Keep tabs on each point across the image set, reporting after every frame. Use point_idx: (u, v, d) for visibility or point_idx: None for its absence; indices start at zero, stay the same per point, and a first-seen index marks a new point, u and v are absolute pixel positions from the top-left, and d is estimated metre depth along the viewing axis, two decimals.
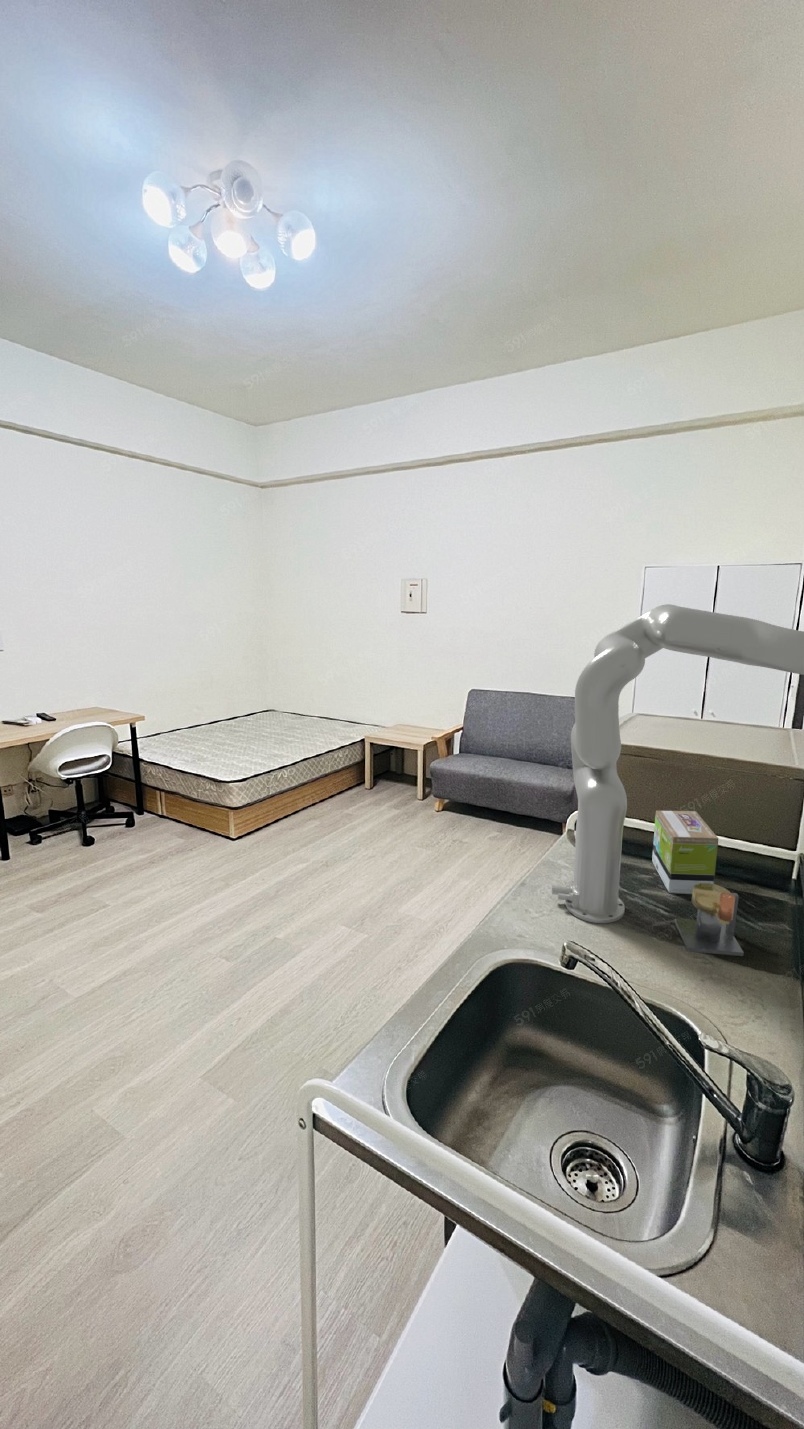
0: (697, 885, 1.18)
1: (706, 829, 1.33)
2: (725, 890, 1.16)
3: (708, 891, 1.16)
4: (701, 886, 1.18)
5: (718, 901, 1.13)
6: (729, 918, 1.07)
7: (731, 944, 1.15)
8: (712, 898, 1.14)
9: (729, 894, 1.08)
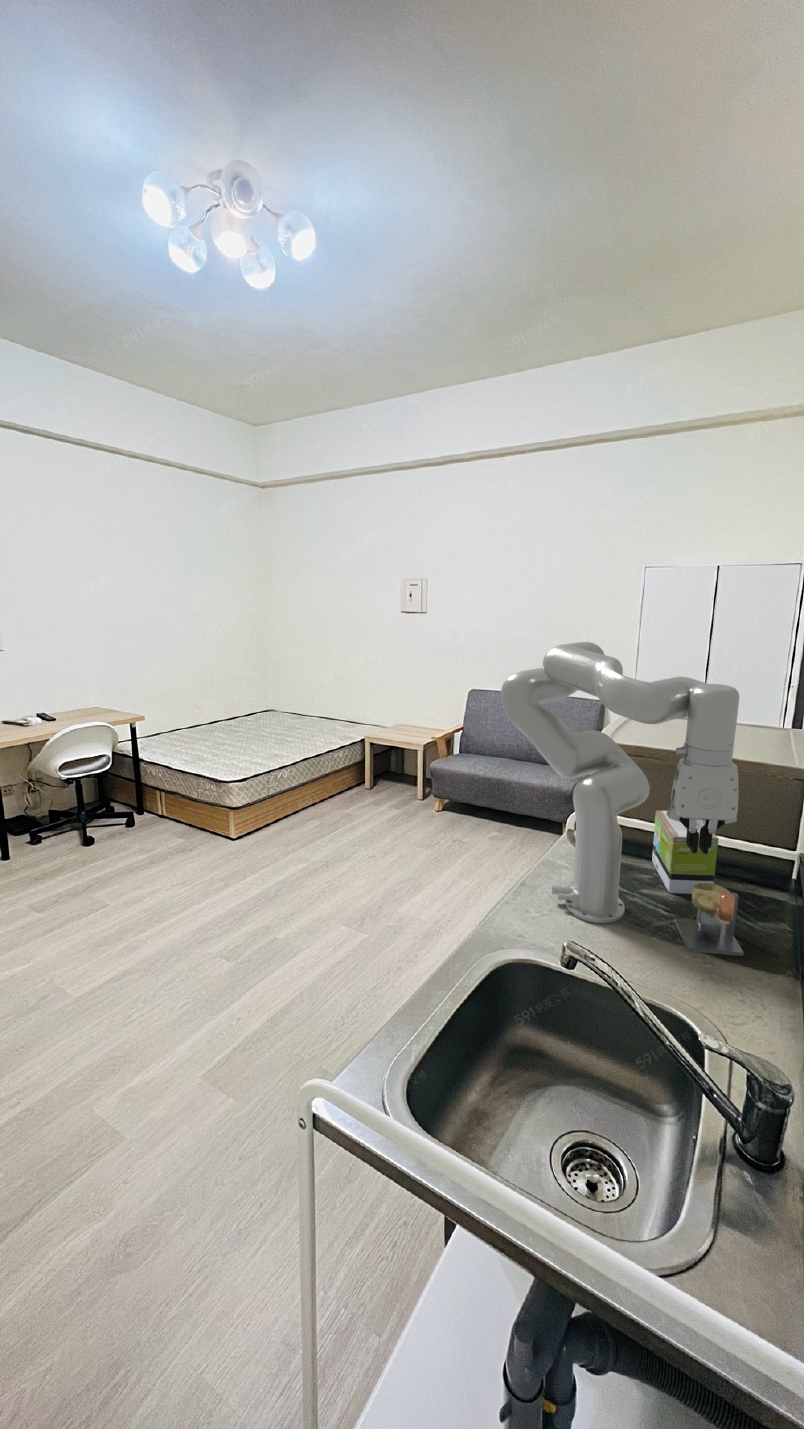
0: (697, 885, 1.18)
1: None
2: (725, 890, 1.16)
3: (708, 891, 1.16)
4: (701, 886, 1.18)
5: (718, 901, 1.13)
6: (729, 918, 1.07)
7: (731, 944, 1.15)
8: (712, 898, 1.14)
9: (729, 894, 1.08)
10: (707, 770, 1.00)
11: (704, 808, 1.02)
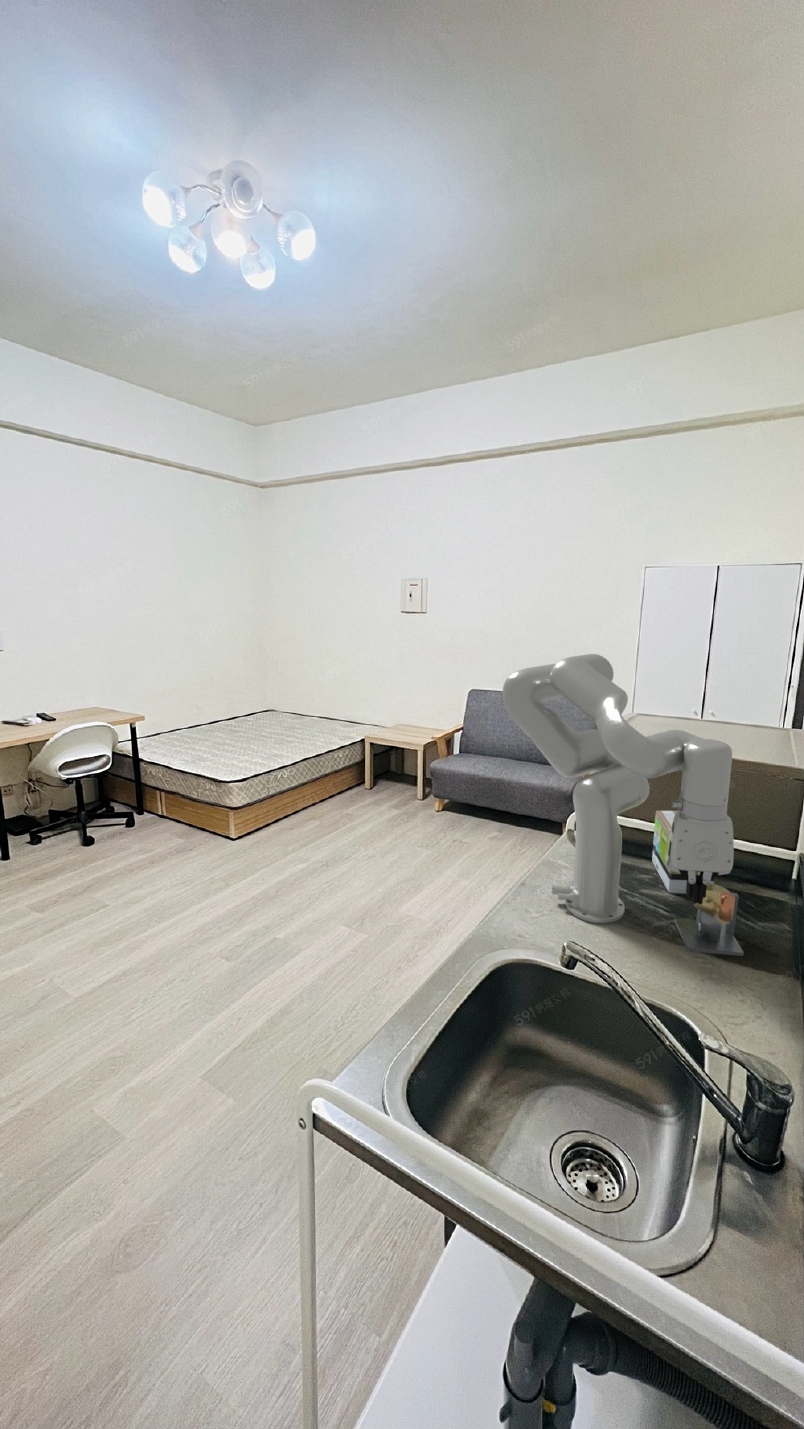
0: None
1: None
2: (725, 890, 1.16)
3: (708, 891, 1.16)
4: None
5: (718, 901, 1.13)
6: (729, 918, 1.07)
7: (731, 944, 1.15)
8: (712, 898, 1.14)
9: (729, 894, 1.08)
10: (702, 824, 1.02)
11: (700, 861, 1.04)
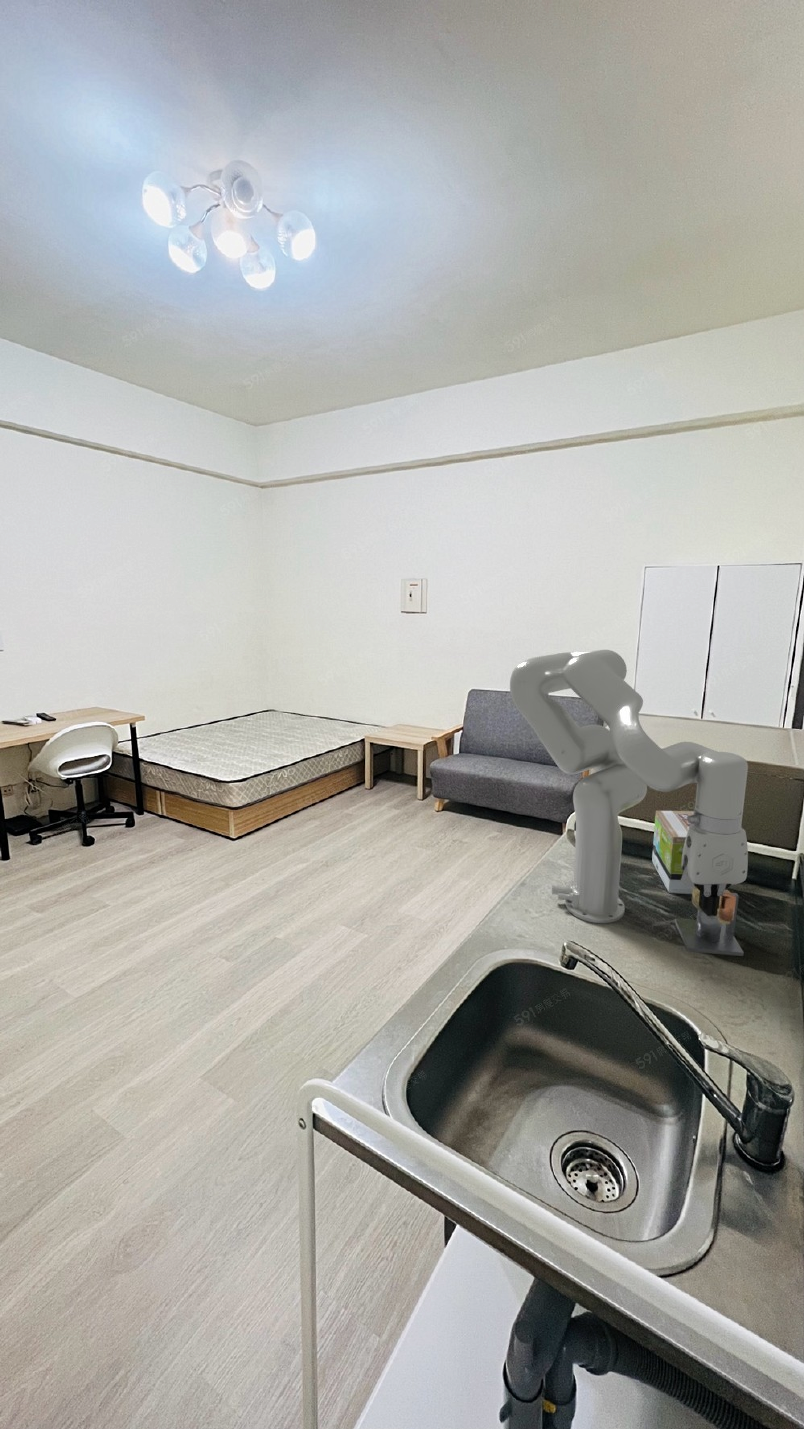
0: None
1: None
2: (725, 890, 1.16)
3: None
4: None
5: None
6: (730, 918, 1.07)
7: (731, 944, 1.15)
8: None
9: (730, 894, 1.08)
10: (720, 837, 1.02)
11: (717, 874, 1.04)
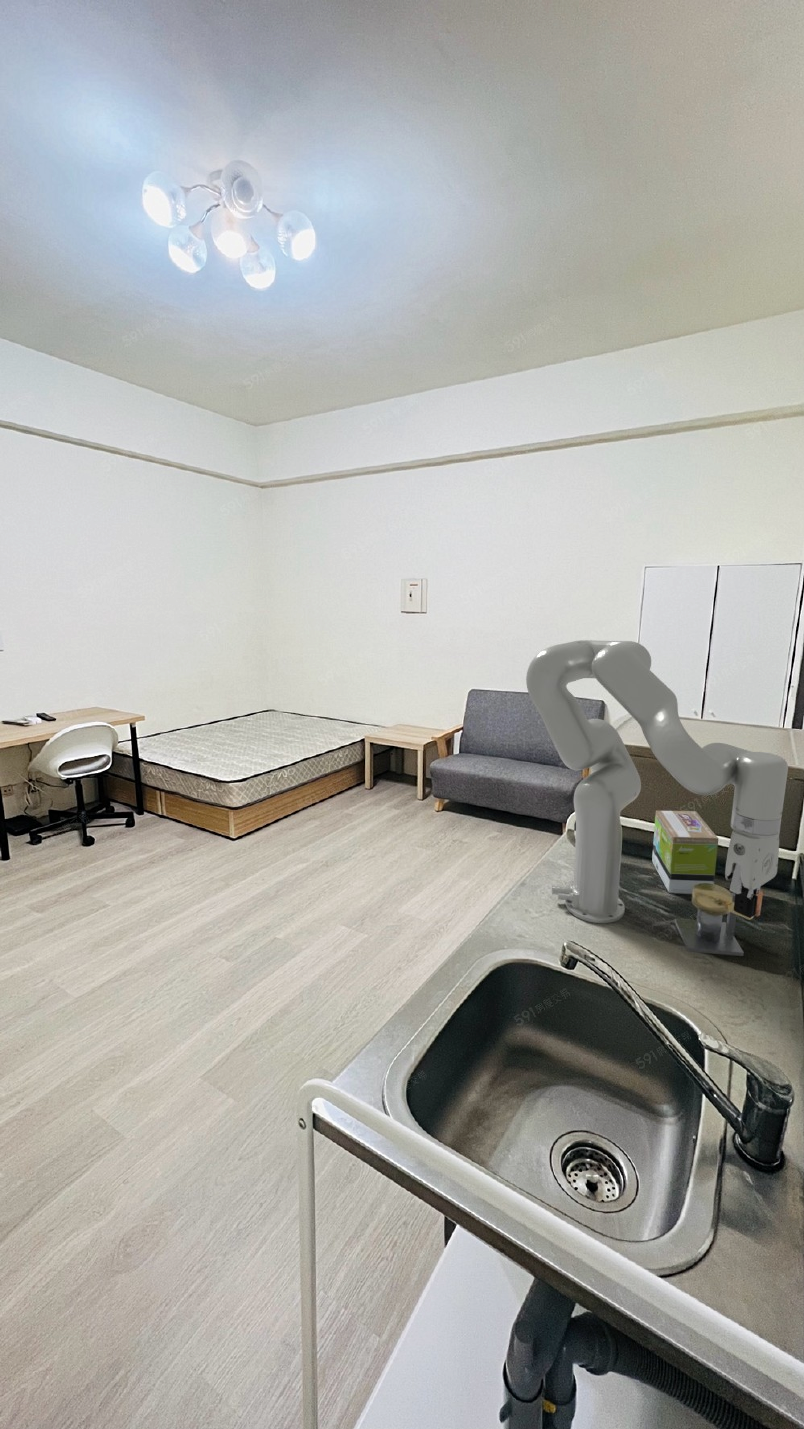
0: (695, 891, 1.16)
1: (706, 830, 1.33)
2: (713, 885, 1.18)
3: (709, 893, 1.15)
4: (699, 891, 1.16)
5: (729, 899, 1.13)
6: None
7: (731, 944, 1.15)
8: (723, 898, 1.13)
9: None
10: (768, 838, 1.01)
11: (764, 874, 1.03)
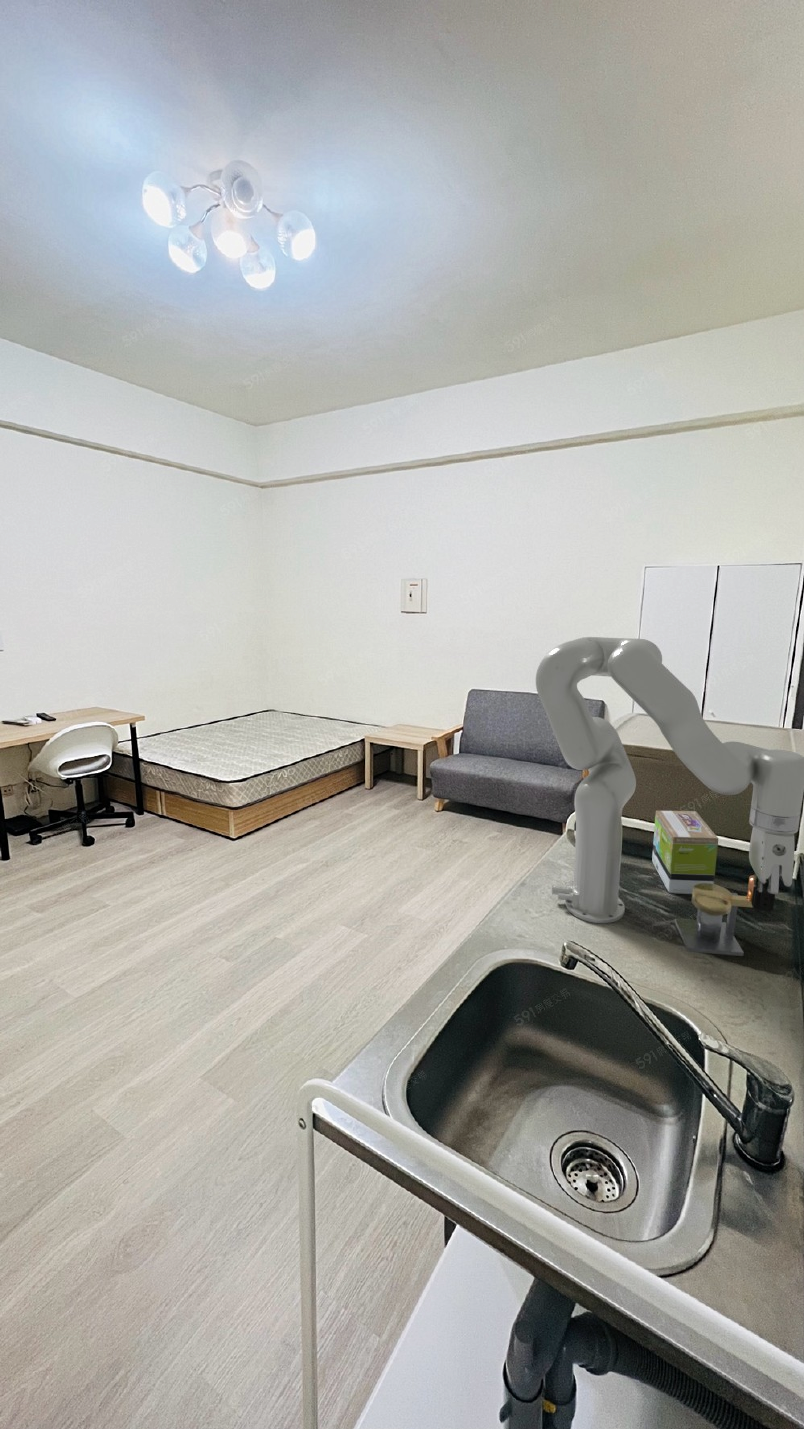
0: (703, 897, 1.14)
1: (706, 829, 1.33)
2: (702, 884, 1.18)
3: (712, 894, 1.15)
4: (704, 895, 1.15)
5: (730, 893, 1.15)
6: None
7: (731, 944, 1.15)
8: (726, 895, 1.14)
9: (752, 877, 1.14)
10: None
11: None
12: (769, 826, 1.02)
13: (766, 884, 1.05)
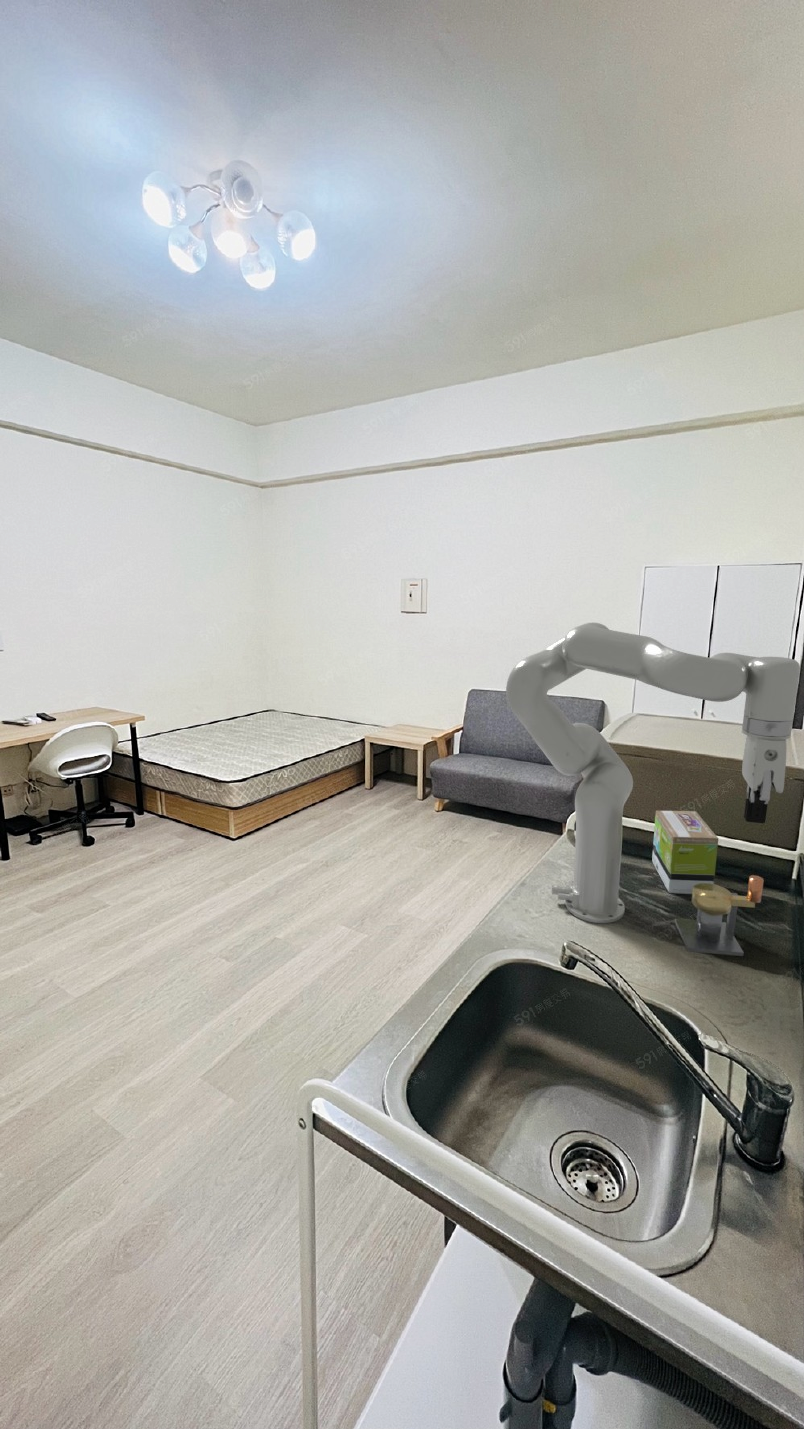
0: (703, 897, 1.14)
1: (706, 829, 1.33)
2: (702, 884, 1.18)
3: (712, 894, 1.15)
4: (704, 895, 1.15)
5: (730, 893, 1.15)
6: None
7: (731, 944, 1.15)
8: (726, 895, 1.15)
9: (752, 877, 1.14)
10: None
11: None
12: (761, 732, 1.02)
13: (758, 793, 1.05)
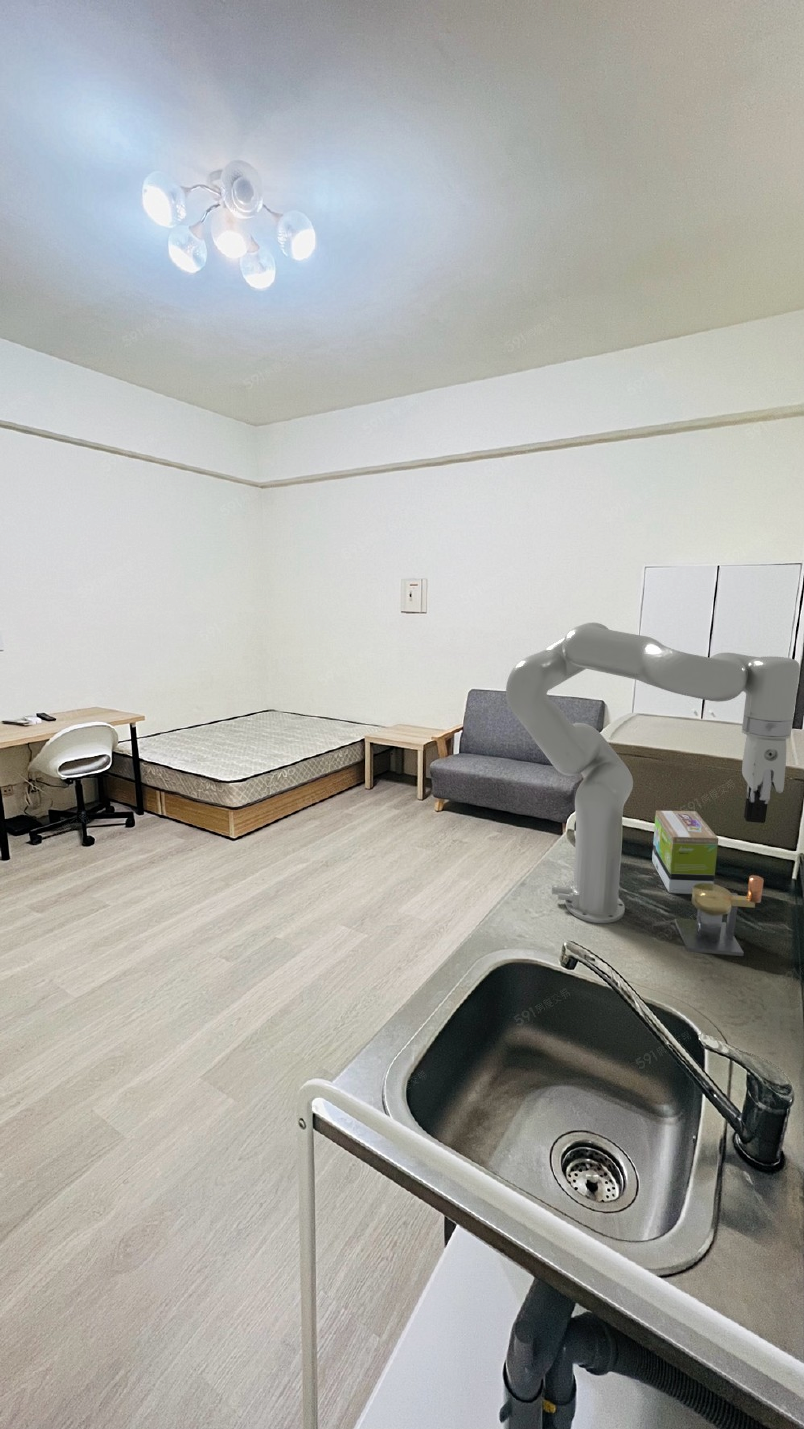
0: (703, 897, 1.14)
1: (706, 829, 1.33)
2: (702, 884, 1.18)
3: (712, 894, 1.15)
4: (704, 895, 1.15)
5: (730, 893, 1.15)
6: None
7: (731, 944, 1.15)
8: (726, 895, 1.15)
9: (752, 877, 1.14)
10: None
11: None
12: (761, 731, 1.02)
13: (758, 792, 1.05)
